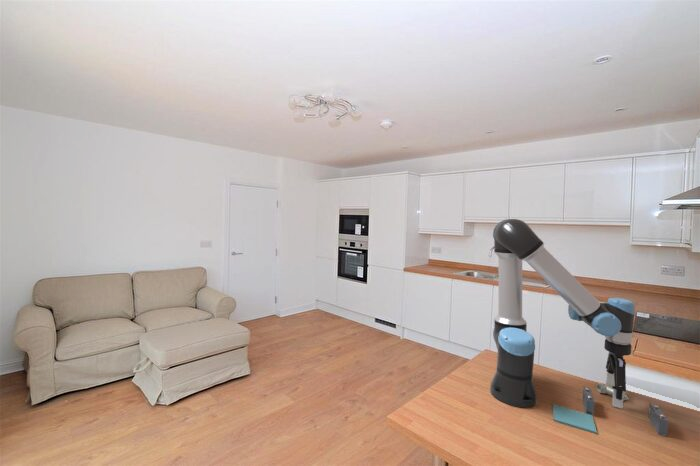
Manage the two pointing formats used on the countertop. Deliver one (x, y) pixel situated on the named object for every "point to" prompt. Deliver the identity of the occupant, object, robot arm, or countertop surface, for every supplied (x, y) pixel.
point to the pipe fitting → (608, 390)
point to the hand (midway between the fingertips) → (613, 398)
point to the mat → (574, 418)
